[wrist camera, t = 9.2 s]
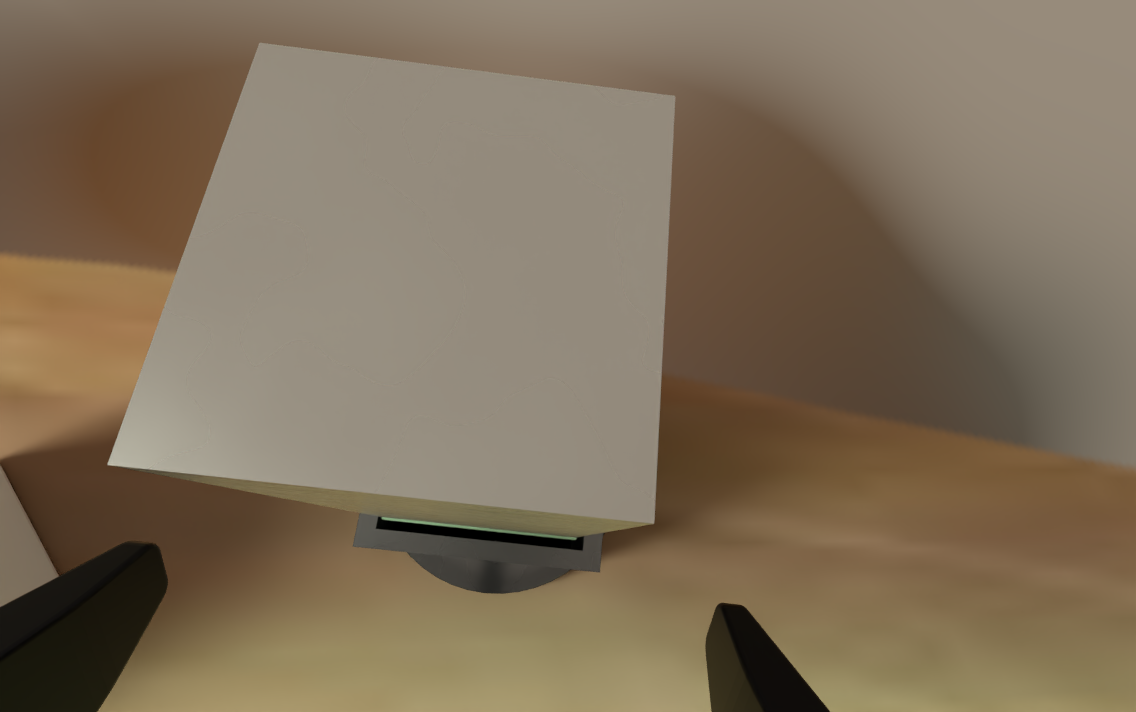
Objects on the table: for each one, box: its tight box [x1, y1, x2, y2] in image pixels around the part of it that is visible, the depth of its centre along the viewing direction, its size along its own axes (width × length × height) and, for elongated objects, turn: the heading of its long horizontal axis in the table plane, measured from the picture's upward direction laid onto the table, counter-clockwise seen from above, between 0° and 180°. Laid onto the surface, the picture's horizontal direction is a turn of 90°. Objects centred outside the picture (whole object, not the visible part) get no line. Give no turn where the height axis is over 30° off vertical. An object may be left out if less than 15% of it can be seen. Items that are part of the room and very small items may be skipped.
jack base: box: [353, 513, 604, 594], centre depth 19 cm, size 9×9×6 cm
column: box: [107, 43, 675, 540], centre depth 12 cm, size 5×5×12 cm
